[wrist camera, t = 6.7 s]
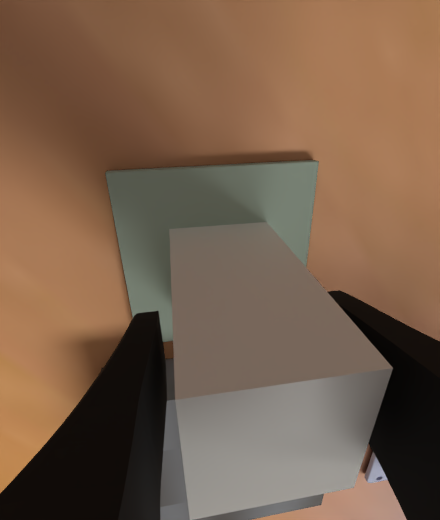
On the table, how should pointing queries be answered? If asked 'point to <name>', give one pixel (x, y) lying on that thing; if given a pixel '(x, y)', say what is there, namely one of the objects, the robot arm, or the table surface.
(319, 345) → the block
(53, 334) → the table surface
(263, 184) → the mat
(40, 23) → the table surface
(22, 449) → the table surface
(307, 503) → the pocket board
